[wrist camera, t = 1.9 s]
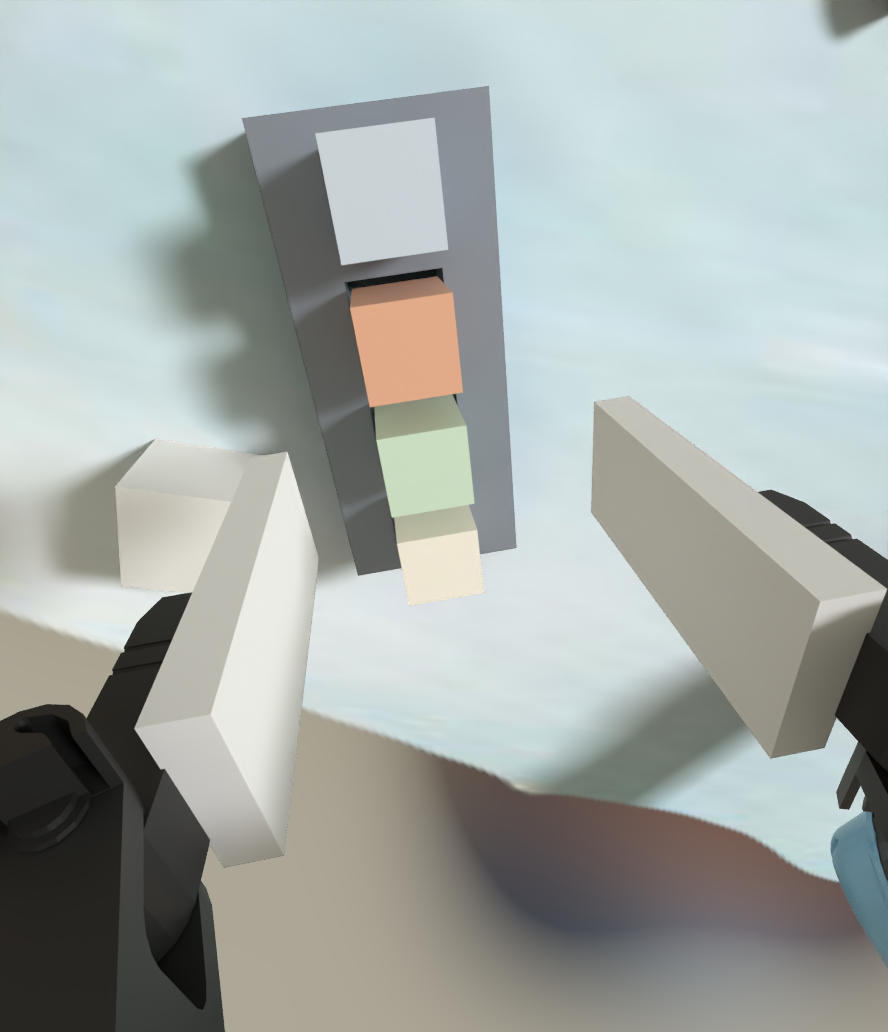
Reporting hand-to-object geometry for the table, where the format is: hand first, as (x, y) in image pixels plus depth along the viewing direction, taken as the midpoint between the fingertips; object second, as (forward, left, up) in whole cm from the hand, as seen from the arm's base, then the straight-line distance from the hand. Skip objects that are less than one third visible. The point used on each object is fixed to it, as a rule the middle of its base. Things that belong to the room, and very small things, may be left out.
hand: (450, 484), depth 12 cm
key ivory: (-11, 0, -17) cm, 20 cm away
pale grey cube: (-9, +13, -20) cm, 25 cm away
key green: (-5, 0, -17) cm, 18 cm away
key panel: (-3, 0, -20) cm, 20 cm away
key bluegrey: (+6, 0, -17) cm, 18 cm away
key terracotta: (0, 0, -17) cm, 17 cm away
